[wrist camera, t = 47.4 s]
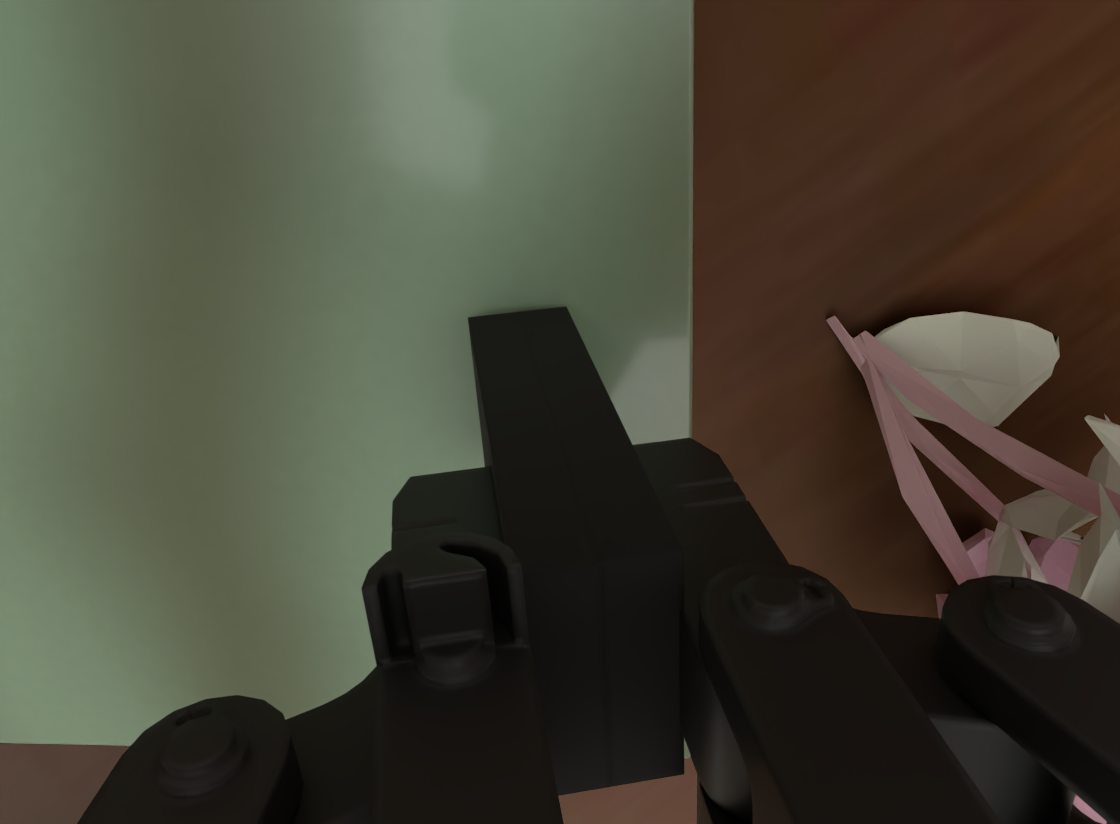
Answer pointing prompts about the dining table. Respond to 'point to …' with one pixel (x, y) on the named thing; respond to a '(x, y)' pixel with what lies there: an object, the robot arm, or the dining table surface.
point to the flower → (993, 453)
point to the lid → (296, 310)
